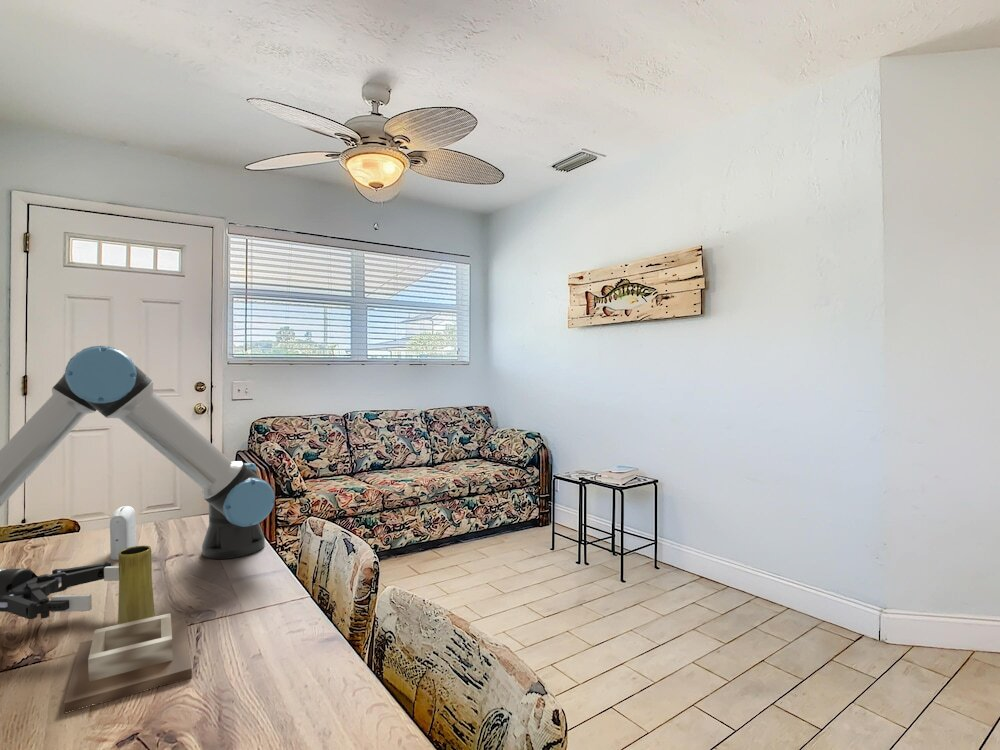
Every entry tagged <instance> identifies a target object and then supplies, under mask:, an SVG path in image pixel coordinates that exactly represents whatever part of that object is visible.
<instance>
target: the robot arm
mask: <svg viewBox="0 0 1000 750" xmlns="http://www.w3.org/2000/svg"><path fill="white" fill-rule="evenodd" d="M64 371H65V372H64V373H63V375H62V377H61V378H60V379H59V380H58V381H57V383H56V384H55V385H53V386H52V387H51V392H52V393H51V394H52V395H51V396H50V397H48V399H47V400H46V402H45V403H44V404H42V405H41V407H40V408H39V409H37V411H36V412H35V413H34V414H32V416H31V417H30V418H29V419H28V420H27V422H25V423H24V424H23V425H22V427H21V428H20V429H19V430H18V431H16V433H15V434H14V435H13V436H12V437H11V438H9V440H8V441H7V442H6V443H5V445H3V447H1V448H0V509H1V508H2V506H3V505H4V504H5V503H6V502H7V501H8V500H9V499H10V498H11V497H12V496H13V495H14V493H15V492H16V491H17V490H18V489H19V488H20V487H21V486H22V485H23V484H24V483H25V482H26V481H27V479H28V478H29V477H30V476H31V475H32V474H33V473H34V472H35V471H36V470H37V468H39V466H40V465H41V464H42V463H44V461H45V460H46V459H47V458H48V457H49V455H50V454H51V453H53V452H54V450H55V449H56V448H57V446H59V445H60V443H61V442H63V440H64V439H65V438H66V437H67V436H68V435H69V434H70V433H71V432H72V430H73V429H74V428H75V427H76V426H77V425H78V424H79V423H80V421H82V420H83V419H84V417H85V416H86V415H87V414H93V413H95V412H96V411H97V412H98V413H100V414H101V415H102V416H103V417H104V418H106V419H119V420H121V422H123V423H124V424H125V425H126V426H128V428H130V429H131V430H132V431H133V432H135V433H136V434H137V435H139V436H140V437H141V438H142V439H143V440H144V441H146V442H147V443H148V444H149V445H150V446H151V447H153V448H154V449H155V450H157V452H158V453H160V454H161V455H162V456H163V457H164V458H166V459H167V460H168V461H170V462H171V464H173V465H174V466H175V467H176V468H178V469H179V470H180V471H181V472H182V473H184V474H185V475H186V476H187V477H188V478H189V479H191V480H192V481H193V482H195V483H196V484H197V485H198V486H199V487H200V488H201V489H202V495H201V496H202V498H203V499H204V500H205V501H206V502H207V503H208V522H209V523H208V527H207V530H206V532H205V535H204V539H203V542H202V546H201V551H202V553H201V554H202V556H203V557H205V558H207V559H214V560H224V559H226V560H227V559H234V557H235V558H240V556H241V557H244V556H248V554H249V555H252V554H254V553H257V552H259V551H260V550H262V549H263V548H264V547H265V544H266V543H265V541H266V540H265V535H264V532H263V530H262V527H261V524H260V523H261V522H263V521H264V520H265V519H266V518H267V517H268V516H269V515H270V513H271V512H272V510H273V508H274V505H275V502H276V501H275V499H276V497H275V492H274V489H273V488H272V485H271V484H270V483H269V482H268V481H266V480H264V479H263V478H261V477H260V476H259V475H257V474H258V469H257V465H256V463H253V462H243V461H242V460H234V461H233V460H231V459H230V458H229V457H227V456H226V455H225V454H224V453H223V452H221V451H220V449H218V447H216V446H215V445H214V444H213V443H212V442H210V440H208V439H207V438H206V437H205V436H204V435H203V434H202V433H200V432H199V431H198V430H197V428H195V427H194V426H193V425H191V424H190V422H188V421H187V420H186V419H185V418H184V417H182V415H181V414H179V413H178V412H177V411H176V410H175V409H173V408H172V406H170V404H168V403H167V402H166V401H164V399H163V398H161V397H160V395H159V394H157V393H156V392H155V391H154V381H153V380H152V379H151V378H150V377H149V376H148V375H147V374H146V373H145V372H143V370H141V369H140V368H139V367H138V366H137V365H135V363H134V362H133V360H132V358H130V356H129V355H128V354H126V353H124V352H123V351H121V350H120V349H118V348H115V347H113V346H106V345H96V346H95V345H94V346H90V347H86V348H83V349H82V350H80V351H79V352H76V353H75V354H74V355H73V356H72V357H70V359H69V360H68V362H67V365H66V367H65V370H64ZM251 553H252V554H251ZM102 580H104V582H112V581H113V582H116V581H117V582H119V565H118V566H117V565H115V566H112V562H110V561H104V562H102V563H101V562H100V563H94V564H88V565H87V564H86V565H83V566H82V565H81V566H75V567H70V568H69V567H68V568H55V569H52V572H51V574H48V573H46V574H41V575H40V574H39V575H37V574H36V573H35V572H34V571H33V570H31V569H30V568H0V613H4V612H5V613H10V614H13V615H15V616H18V617H22V618H25V619H27V620H34V619H36V618H38V615H39V614H40V619H47V618H50V612H51V613H61V612H62V613H65V612H72V613H73V612H90V611H91V610H92V608H93V603H92V600H93V599H92V594H57V595H56V593H59V592H60V593H61V592H64V591H66V590H67V589H68V588H70V587H75V586H79V585H84V584H89V583H93V582H98V581H102ZM59 584H61V585H60V586H59ZM51 594H55V595H52V596H50V595H51ZM48 596H50V598H49V597H48Z"/></svg>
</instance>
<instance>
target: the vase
mask: <svg viewBox="0 0 1000 750" xmlns="http://www.w3.org/2000/svg"><path fill="white" fill-rule="evenodd" d="M118 556H119V560H118V566H119V581H118V601H117V602H118V603H117V605H118V613H117V624H116V625H119V624H123V623H128V622H132V621H137V620H141V619H146V618H150V617H155V616H156V615H155V603H154V602H155V601H154V600H155V599H154V592H153V591H154V590H153V574H152V572H153V568H152V566H153V565H152V564H153V563H152V547H151V546H149V545H136V546H135V547H130V548H126V549H123V550H121V551H120V552H119V553H118Z"/></svg>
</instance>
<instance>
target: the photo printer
mask: <svg viewBox="0 0 1000 750" xmlns="http://www.w3.org/2000/svg"><path fill="white" fill-rule="evenodd" d="M136 530H137V529H136V511H135V509H134V508H133V507H132V506H130V505H126V506H125V505H124V506H120V507H118V508H117V509H115V511H114V512H113V514H112V515H111V517H110V520H109V543H110V544H109V545H110V547H109V548H110V560H113V561H119V556H118V553H119V552H120V551H121V550H123V549H126V548H130V547H135V546H137V545H136V544H137V535H136V534H137V531H136Z"/></svg>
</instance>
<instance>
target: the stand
mask: <svg viewBox="0 0 1000 750" xmlns="http://www.w3.org/2000/svg"><path fill="white" fill-rule="evenodd" d="M171 615H172V614H171V613H170V612H169V613H165V614H161V615H155V617H150V618H146V619H141V620H137V621H132V622H128V623H123V624H119V625H117V624H114V625H111V626H105V627H102V628H97V629H94V632H93V636H92V639H91V640H86V641H82V642H79V645H78V650H77V653H76V656H75V661H74V664H73V667H72V671H71V676H70V680H69V683H68V686H67V690H66V693H65V697H64V701H63V714H66V713H65V712H68V713H70V712H69V711H72V710H75V711H78V710H77V709H79V708H82V707H86V706H89V705H92V704H96V705H98V704H97V703H100V704H102V703H101V702H103V703H106V702H105V701H107V702H110V701H109V700H111V701H114V700H117V698H118V699H120V698H125V697H127V696H131V695H136V694H139V693H142V691H143V692H145V691H144V690H146V691H148V690H147V689H150V688H153V689H155V688H154V687H157V688H159V687H158V686H160V687H163V686H162V685H164V686H166V685H165V684H167V685H171V684H173V682H175V683H177V681H178V682H181V681H180V680H182V681H185V680H188V679H189V680H190V679H192V678H193V674H192V673H193V667H192V661H191V659H192V658H191V651H190V643H189V641H190V640H189V636H188V635H189V633H188V627H187V625H188V623H187V619H186V618H182V619H178V620H174V621H172V616H171ZM170 683H171V684H170ZM150 690H151V689H150ZM138 692H139V693H138ZM89 707H90V706H89ZM86 708H87V707H86ZM82 709H83V708H82ZM79 710H80V709H79ZM72 712H73V711H72Z"/></svg>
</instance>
